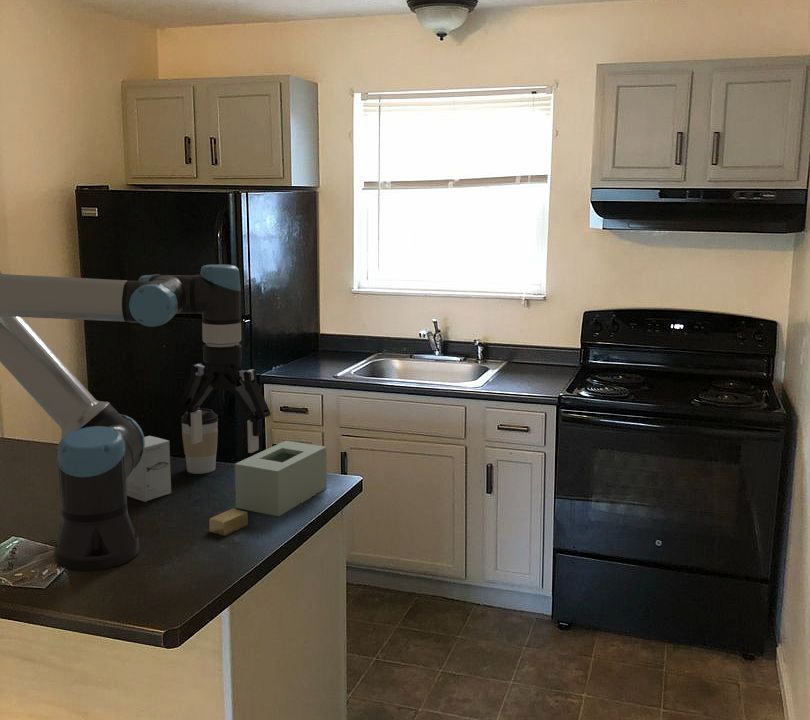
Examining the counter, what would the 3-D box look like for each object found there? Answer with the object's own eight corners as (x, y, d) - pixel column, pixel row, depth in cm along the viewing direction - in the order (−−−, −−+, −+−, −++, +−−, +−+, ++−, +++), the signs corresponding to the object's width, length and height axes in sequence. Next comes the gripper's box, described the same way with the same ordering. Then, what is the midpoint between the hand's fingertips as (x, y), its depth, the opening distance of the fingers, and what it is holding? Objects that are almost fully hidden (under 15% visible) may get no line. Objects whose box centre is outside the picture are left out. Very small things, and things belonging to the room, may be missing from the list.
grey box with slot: (278, 516, 187) (277, 471, 185) (235, 507, 192) (234, 463, 190) (326, 488, 205) (326, 446, 203) (286, 481, 209) (285, 440, 208)
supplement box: (145, 502, 194) (142, 447, 192) (124, 495, 199) (122, 441, 196) (172, 493, 200) (170, 440, 198) (152, 487, 205) (149, 434, 202)
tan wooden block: (224, 536, 177) (223, 522, 176) (209, 532, 179) (209, 518, 178) (247, 525, 183) (247, 512, 182) (233, 521, 185) (232, 508, 184)
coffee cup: (174, 471, 216) (172, 411, 213) (199, 461, 224) (197, 404, 221) (203, 477, 212) (201, 416, 209) (227, 467, 219) (225, 408, 217)
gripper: (286, 345, 173) (287, 449, 177) (182, 335, 183) (185, 434, 187) (266, 351, 166) (267, 460, 170) (158, 341, 176) (162, 443, 180)
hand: (224, 446), depth 179 cm, fingers open, 13 cm apart
